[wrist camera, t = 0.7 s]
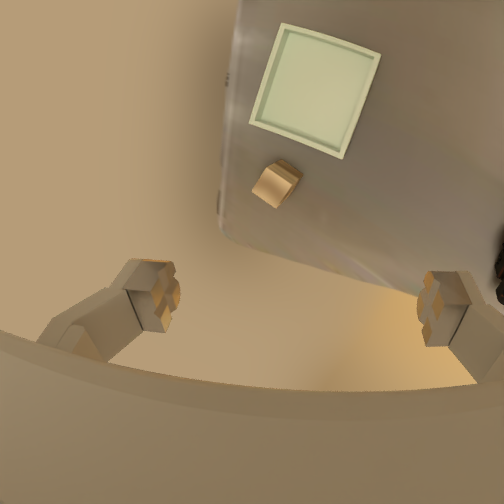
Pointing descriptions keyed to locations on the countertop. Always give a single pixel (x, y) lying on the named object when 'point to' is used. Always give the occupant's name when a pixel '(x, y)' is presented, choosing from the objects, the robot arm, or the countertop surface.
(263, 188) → the block
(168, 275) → the robot arm
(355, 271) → the countertop surface
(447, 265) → the countertop surface
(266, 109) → the tray
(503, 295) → the tool
